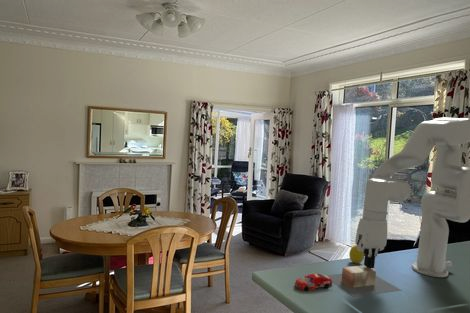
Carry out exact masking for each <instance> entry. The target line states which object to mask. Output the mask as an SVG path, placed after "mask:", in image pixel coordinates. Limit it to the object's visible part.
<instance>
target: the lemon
mask: <svg viewBox="0 0 470 313" xmlns="http://www.w3.org/2000/svg"><path fill="white" fill-rule="evenodd" d="M357 248H358V245H357V244H355V245H353V246H351V247H350V251H349V254H348V255H349V259H350V261H351V262H352V263H354V264H356V265H357V264H360V263H362V262H364V259H365V255H364V254H363V252H361V251H359V250H357Z"/></svg>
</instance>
